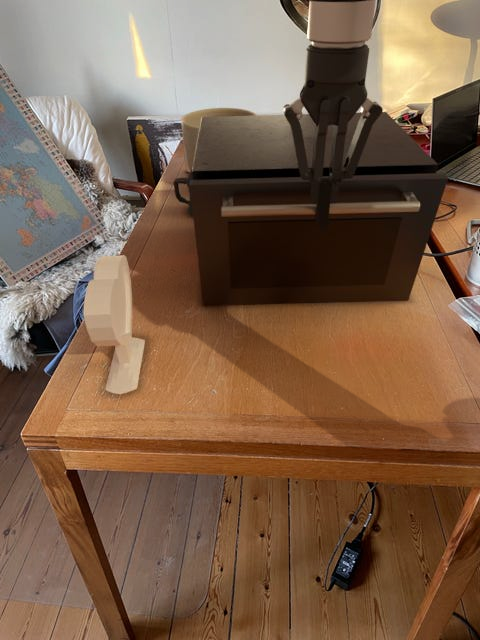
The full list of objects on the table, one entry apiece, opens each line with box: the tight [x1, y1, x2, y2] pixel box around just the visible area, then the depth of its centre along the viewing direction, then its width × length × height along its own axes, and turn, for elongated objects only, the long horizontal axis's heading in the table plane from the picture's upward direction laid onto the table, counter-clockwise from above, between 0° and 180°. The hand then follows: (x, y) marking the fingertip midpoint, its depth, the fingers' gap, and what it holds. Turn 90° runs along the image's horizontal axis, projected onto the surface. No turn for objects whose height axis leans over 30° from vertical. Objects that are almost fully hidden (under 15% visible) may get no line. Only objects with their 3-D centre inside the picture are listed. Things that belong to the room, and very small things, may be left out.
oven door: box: [190, 172, 449, 307], centre depth 79 cm, size 5×40×26 cm, turn 91°
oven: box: [192, 111, 439, 180], centre depth 95 cm, size 32×40×26 cm
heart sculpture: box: [83, 254, 146, 395], centre depth 71 cm, size 16×5×18 cm, turn 3°
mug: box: [173, 169, 193, 217], centre depth 119 cm, size 12×9×11 cm
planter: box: [180, 107, 258, 171], centre depth 130 cm, size 21×21×19 cm
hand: (321, 222), depth 69 cm, fingers closed
